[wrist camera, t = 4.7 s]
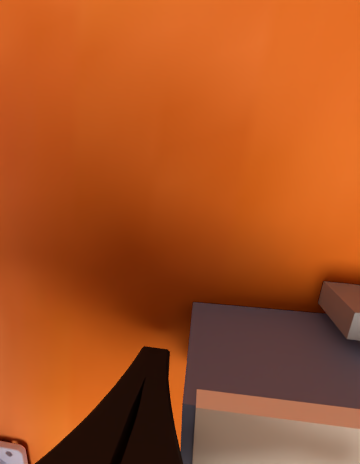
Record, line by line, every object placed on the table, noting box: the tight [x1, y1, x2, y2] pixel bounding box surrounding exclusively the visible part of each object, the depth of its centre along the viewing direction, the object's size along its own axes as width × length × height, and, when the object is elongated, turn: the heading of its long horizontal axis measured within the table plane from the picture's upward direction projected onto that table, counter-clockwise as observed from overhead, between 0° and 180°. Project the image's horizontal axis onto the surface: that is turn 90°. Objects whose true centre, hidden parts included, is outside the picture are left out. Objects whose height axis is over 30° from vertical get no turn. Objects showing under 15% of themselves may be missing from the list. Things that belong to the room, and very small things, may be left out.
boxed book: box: [181, 302, 360, 464], centre depth 10 cm, size 8×4×6 cm, turn 89°
